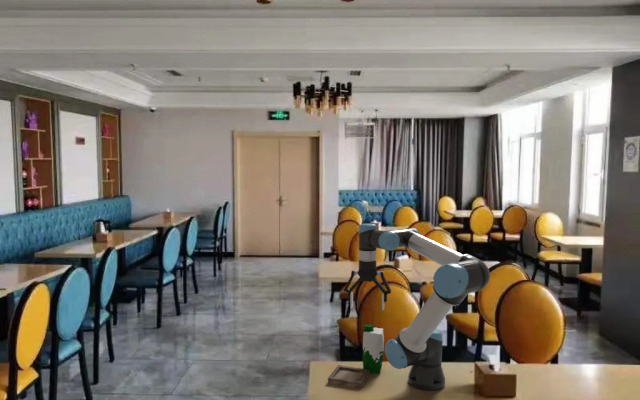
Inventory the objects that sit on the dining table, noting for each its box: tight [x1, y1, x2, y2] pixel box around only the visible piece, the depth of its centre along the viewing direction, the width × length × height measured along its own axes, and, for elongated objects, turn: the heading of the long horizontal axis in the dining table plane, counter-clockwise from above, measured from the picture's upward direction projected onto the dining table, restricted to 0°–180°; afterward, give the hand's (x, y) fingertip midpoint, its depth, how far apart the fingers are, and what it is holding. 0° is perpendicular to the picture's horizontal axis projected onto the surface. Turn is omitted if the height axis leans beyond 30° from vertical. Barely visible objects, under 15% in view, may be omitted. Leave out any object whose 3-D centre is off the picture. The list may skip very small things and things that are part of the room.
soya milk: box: [362, 323, 385, 375], centre depth 231 cm, size 9×9×20 cm
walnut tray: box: [327, 364, 370, 390], centre depth 222 cm, size 14×14×2 cm
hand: (367, 308), depth 228 cm, fingers open, 13 cm apart
